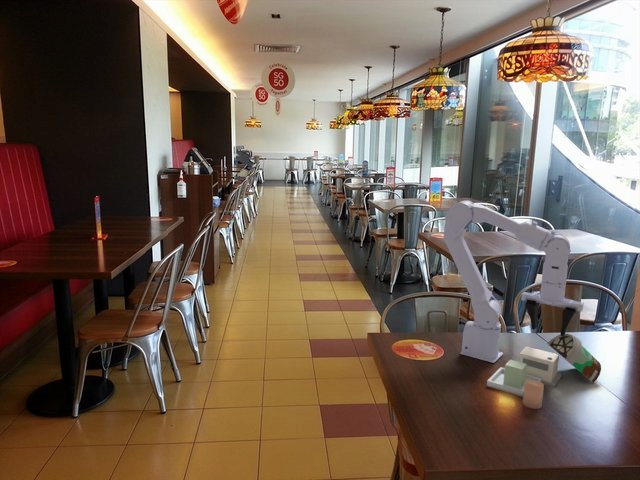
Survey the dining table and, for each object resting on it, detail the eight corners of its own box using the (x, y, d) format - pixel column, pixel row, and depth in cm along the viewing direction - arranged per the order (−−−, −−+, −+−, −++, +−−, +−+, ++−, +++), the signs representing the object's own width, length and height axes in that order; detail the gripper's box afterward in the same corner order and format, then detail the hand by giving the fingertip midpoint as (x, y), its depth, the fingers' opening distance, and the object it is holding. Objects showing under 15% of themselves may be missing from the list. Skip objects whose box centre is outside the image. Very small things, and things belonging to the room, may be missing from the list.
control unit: (512, 375, 125) (514, 352, 124) (521, 365, 131) (523, 343, 130) (554, 387, 119) (557, 363, 118) (561, 376, 125) (564, 353, 124)
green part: (503, 383, 120) (505, 364, 119) (508, 378, 123) (510, 359, 122) (520, 389, 117) (522, 369, 116) (525, 383, 120) (527, 364, 119)
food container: (614, 367, 119) (583, 341, 119) (596, 385, 120) (565, 360, 119) (590, 349, 131) (562, 326, 131) (573, 366, 132) (545, 342, 132)
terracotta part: (520, 404, 111) (522, 384, 110) (525, 398, 114) (527, 377, 113) (538, 410, 108) (541, 389, 107) (543, 403, 111) (545, 383, 110)
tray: (486, 385, 119) (487, 380, 119) (500, 372, 127) (500, 367, 127) (529, 399, 113) (530, 393, 113) (541, 383, 121) (541, 378, 121)
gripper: (520, 279, 128) (515, 329, 130) (581, 289, 119) (575, 342, 121) (527, 274, 133) (523, 322, 136) (587, 284, 125) (581, 335, 127)
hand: (548, 331), depth 129 cm, fingers open, 6 cm apart
